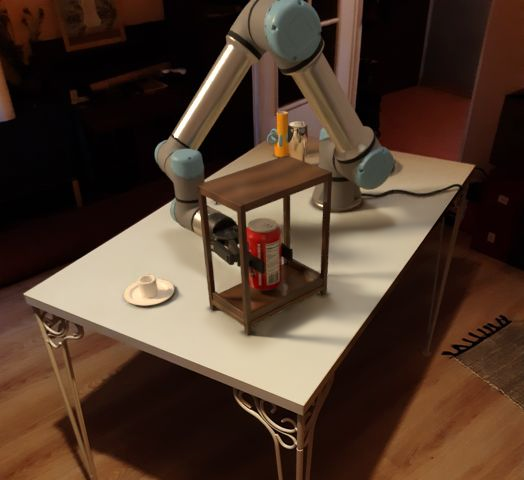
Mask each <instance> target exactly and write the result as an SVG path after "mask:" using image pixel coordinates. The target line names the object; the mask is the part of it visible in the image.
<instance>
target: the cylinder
mask: <svg viewBox="0 0 524 480" xmlns="http://www.w3.org/2000/svg"><path fill="white" fill-rule="evenodd" d="M288 123H289V112H288V111H287V110H280V111H277V112H276V128H272V129H271V130H270V132H269V134H268V135H267V138H266V141H267V143H268V144H269V145H271V146H273V147H274V156H275V157H277V158H280V157H283V156H286V155H287V156H290V154H289V148H288V141H287V131H288ZM274 136H275V137H274ZM270 138H271V140H272V141H270Z"/></svg>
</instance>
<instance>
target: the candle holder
mask: <svg viewBox="0 0 524 480" xmlns="http://www.w3.org/2000/svg"><path fill="white" fill-rule="evenodd" d="M174 292H175V286H174V285H173V283H172V282H171V281H168V280H166V279H163V278H156V276H154V275H152V274H145V275H142V276H140V277H138V279H137V280H136V281H135V282H133V283H132V284H130V285H129V286H127V288H125V290H124V293H123V297H124V299H125V301H127V302H128V303H129V304H132V305H136V306H153V305H158V304H161V303H163V302H166V301H167V300H168V299H170V298H171V297H172V296H173V294H174Z"/></svg>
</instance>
